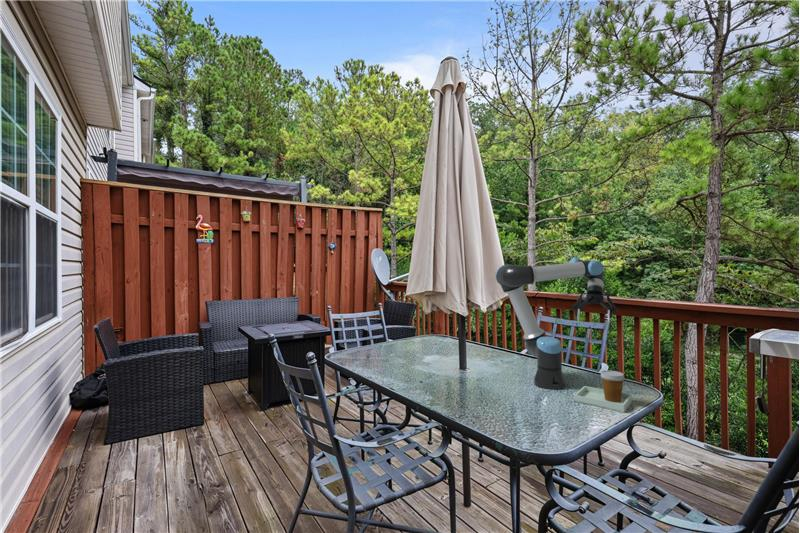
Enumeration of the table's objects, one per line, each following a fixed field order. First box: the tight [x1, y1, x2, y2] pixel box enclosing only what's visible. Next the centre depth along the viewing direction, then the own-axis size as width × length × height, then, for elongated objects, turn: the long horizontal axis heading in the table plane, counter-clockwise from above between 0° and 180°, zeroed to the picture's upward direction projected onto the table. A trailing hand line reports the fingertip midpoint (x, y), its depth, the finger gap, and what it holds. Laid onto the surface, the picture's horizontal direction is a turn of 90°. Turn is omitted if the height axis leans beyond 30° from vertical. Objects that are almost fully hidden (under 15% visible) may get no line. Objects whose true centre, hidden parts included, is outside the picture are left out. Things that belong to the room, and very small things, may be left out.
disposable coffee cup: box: [600, 369, 626, 402], centre depth 173 cm, size 10×10×12 cm
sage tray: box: [573, 385, 633, 413], centre depth 174 cm, size 20×16×3 cm
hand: (592, 321), depth 193 cm, fingers open, 13 cm apart
